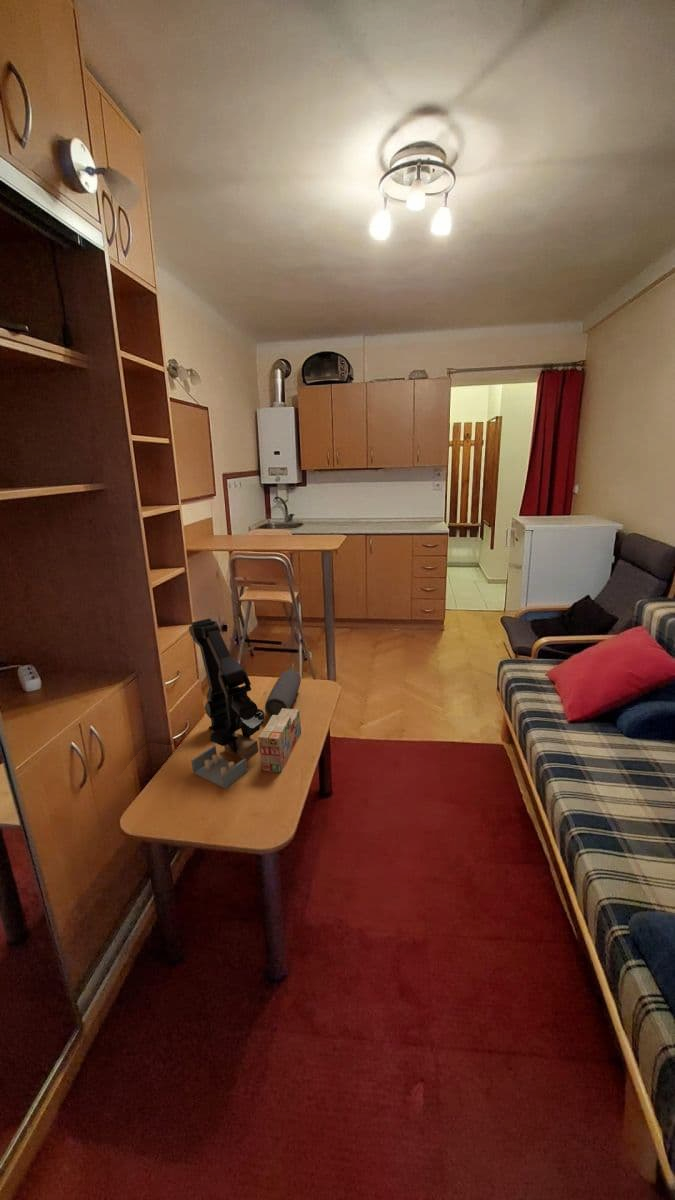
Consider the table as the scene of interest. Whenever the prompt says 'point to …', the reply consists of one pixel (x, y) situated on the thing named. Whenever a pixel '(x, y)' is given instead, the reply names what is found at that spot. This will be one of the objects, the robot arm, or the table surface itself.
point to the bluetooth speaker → (283, 692)
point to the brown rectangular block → (244, 747)
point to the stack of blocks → (279, 739)
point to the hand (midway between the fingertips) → (241, 748)
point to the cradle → (218, 768)
